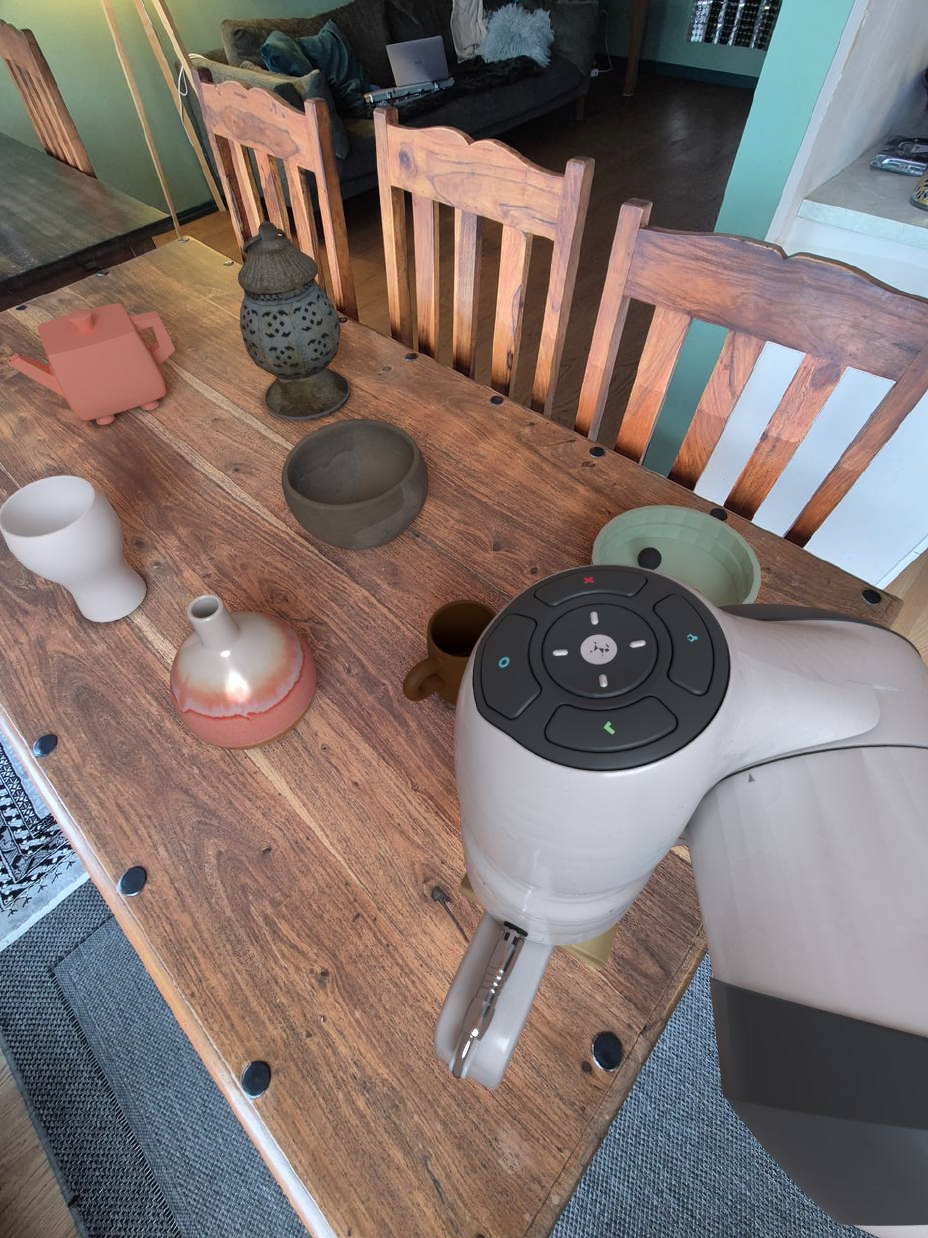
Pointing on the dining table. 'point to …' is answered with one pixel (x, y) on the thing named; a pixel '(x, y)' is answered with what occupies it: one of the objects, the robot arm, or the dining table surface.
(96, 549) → the cup
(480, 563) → the dining table surface
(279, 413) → the lantern
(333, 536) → the bowl
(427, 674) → the mug
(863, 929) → the robot arm
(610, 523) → the bowl
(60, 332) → the teapot
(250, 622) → the vase
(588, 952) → the stick
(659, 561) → the bead
